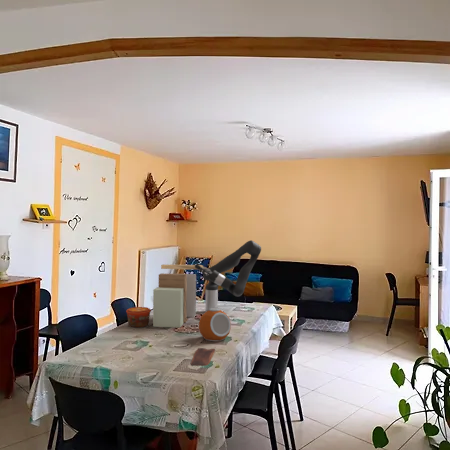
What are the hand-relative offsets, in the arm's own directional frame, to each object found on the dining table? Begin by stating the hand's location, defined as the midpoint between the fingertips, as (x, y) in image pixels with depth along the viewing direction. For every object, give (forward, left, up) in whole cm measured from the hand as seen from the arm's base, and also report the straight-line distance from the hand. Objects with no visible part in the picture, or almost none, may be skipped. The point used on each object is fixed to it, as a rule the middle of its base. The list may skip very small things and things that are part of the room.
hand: (195, 265), depth 290 cm
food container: (+15, -35, -39) cm, 55 cm away
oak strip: (0, -10, -3) cm, 10 cm away
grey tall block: (-15, -10, -39) cm, 43 cm away
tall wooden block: (0, -16, -39) cm, 42 cm away
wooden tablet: (+72, +16, -39) cm, 84 cm away
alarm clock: (+38, +18, -39) cm, 57 cm away
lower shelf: (+12, -16, -39) cm, 44 cm away
